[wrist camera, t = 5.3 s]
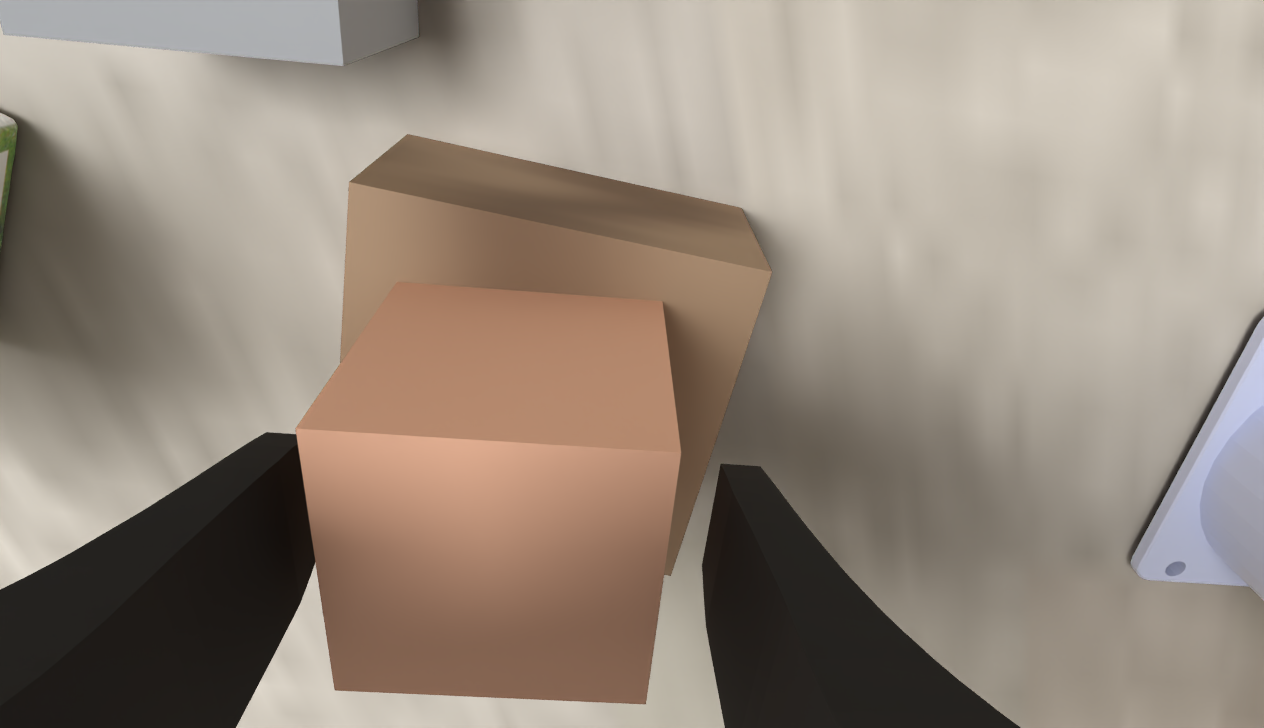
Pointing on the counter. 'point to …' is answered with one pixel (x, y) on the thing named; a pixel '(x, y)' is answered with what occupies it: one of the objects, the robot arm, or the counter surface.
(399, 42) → the slate-grey block
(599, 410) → the terracotta block
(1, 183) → the syrup box
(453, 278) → the walnut block
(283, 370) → the counter surface
